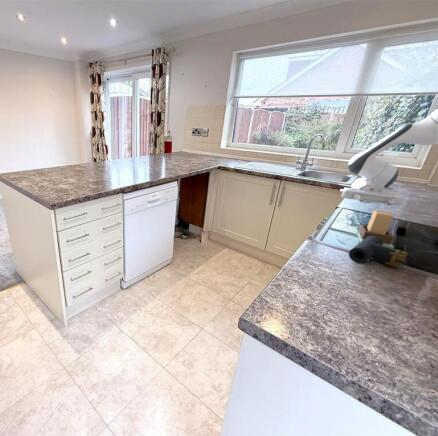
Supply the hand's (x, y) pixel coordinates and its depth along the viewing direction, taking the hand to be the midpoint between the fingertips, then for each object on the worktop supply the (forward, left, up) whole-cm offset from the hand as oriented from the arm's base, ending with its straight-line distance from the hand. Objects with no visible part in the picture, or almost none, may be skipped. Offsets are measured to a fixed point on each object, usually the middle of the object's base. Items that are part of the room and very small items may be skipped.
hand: (375, 201), depth 99 cm
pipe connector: (+21, +22, -12) cm, 33 cm away
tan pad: (+8, +10, -11) cm, 17 cm away
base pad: (+8, +10, -12) cm, 17 cm away
